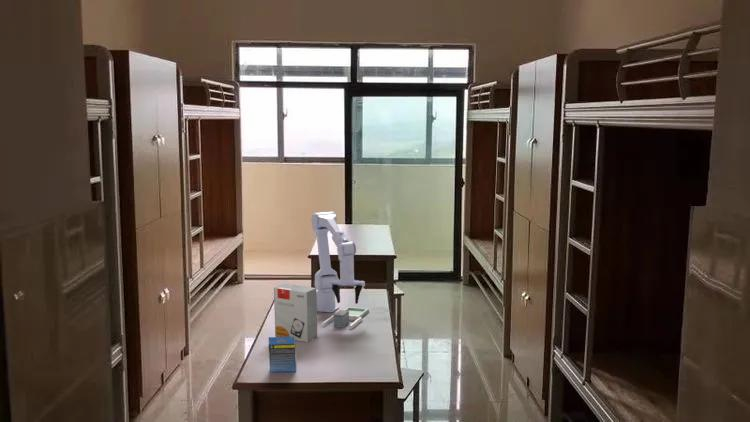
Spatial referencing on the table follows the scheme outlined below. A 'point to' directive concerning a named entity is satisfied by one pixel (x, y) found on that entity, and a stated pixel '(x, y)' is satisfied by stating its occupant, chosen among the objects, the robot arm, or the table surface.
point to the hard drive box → (295, 312)
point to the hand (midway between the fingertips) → (347, 302)
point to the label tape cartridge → (282, 354)
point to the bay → (351, 317)
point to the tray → (357, 311)
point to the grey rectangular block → (341, 318)
